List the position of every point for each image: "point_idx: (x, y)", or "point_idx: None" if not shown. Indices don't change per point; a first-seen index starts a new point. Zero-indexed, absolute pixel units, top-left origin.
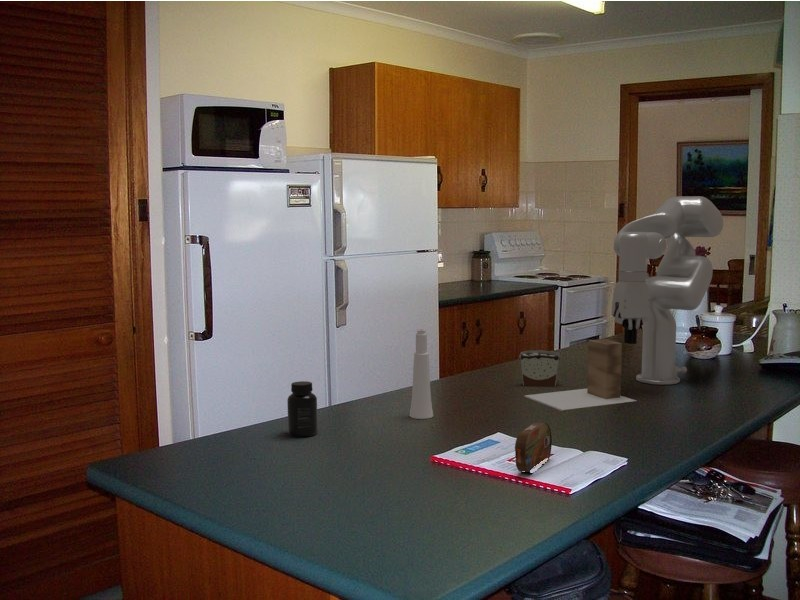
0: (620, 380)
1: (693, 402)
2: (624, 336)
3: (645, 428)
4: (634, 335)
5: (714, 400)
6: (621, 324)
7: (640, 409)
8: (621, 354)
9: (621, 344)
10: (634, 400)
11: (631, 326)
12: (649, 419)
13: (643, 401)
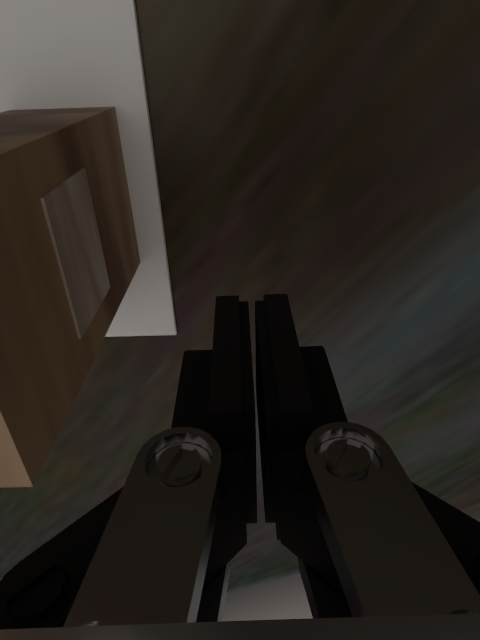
0: (118, 303)
1: (378, 402)
2: (181, 370)
3: (29, 535)
4: (261, 467)
5: (472, 406)
6: (58, 543)
7: (125, 409)
8: (70, 407)
9: (33, 477)
10: (168, 327)
11: (212, 583)
12: (86, 490)
13: (212, 329)
